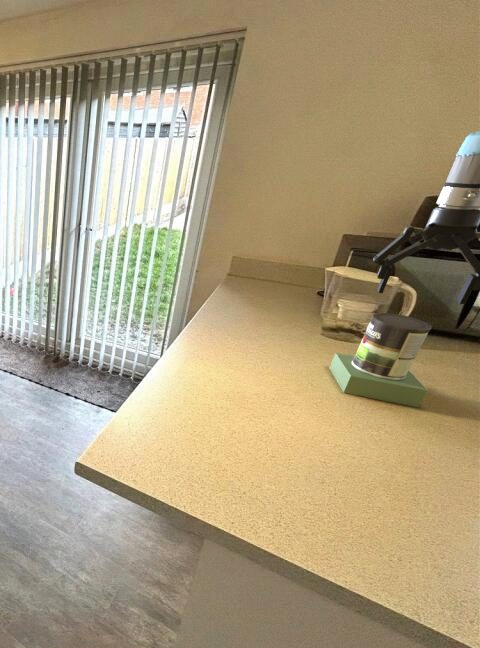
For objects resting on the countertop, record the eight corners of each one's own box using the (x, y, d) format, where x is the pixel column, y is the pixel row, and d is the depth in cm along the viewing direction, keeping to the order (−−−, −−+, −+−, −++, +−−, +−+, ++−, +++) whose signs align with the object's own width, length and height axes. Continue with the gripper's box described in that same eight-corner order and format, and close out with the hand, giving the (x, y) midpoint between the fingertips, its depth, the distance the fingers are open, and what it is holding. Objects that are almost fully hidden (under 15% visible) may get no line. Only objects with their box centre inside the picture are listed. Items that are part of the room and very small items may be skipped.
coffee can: (359, 375, 99) (382, 324, 94) (345, 357, 108) (365, 310, 102) (414, 384, 95) (442, 332, 90) (395, 365, 104) (419, 316, 98)
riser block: (395, 380, 106) (403, 364, 104) (418, 407, 95) (427, 390, 93) (329, 368, 112) (335, 352, 110) (343, 392, 101) (350, 376, 99)
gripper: (384, 205, 91) (350, 291, 100) (560, 213, 77) (504, 312, 85) (379, 202, 97) (348, 283, 105) (543, 208, 82) (492, 302, 91)
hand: (418, 296), depth 95 cm, fingers open, 13 cm apart
